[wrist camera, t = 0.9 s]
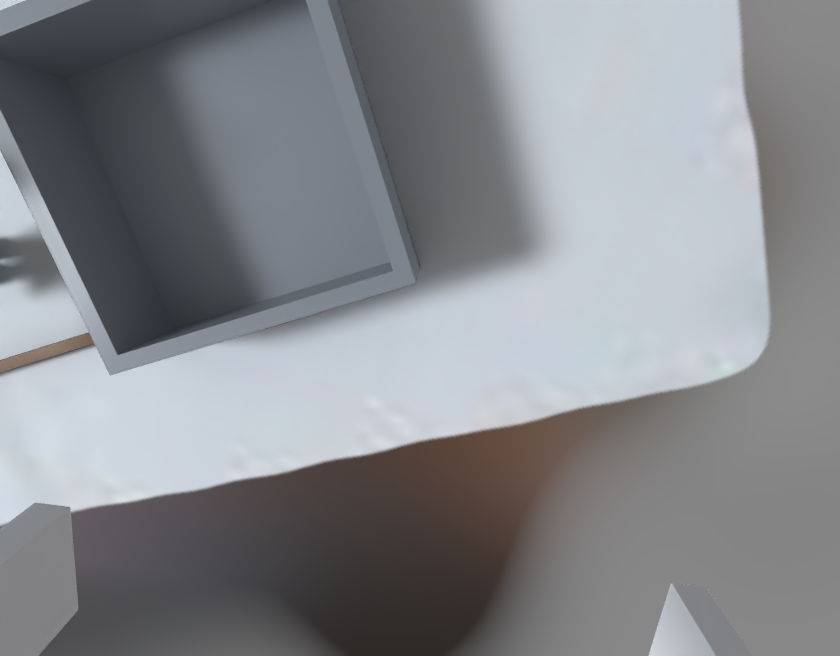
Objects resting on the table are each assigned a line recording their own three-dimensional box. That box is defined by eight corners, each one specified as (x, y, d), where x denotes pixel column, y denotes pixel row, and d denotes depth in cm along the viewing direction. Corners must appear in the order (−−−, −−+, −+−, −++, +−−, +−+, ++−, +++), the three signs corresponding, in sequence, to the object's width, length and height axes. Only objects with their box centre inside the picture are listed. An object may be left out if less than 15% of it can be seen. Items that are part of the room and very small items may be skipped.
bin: (51, 70, 31) (-57, 33, 24) (327, -35, 29) (293, -108, 22) (172, 342, 35) (109, 375, 29) (420, 267, 33) (415, 283, 27)
